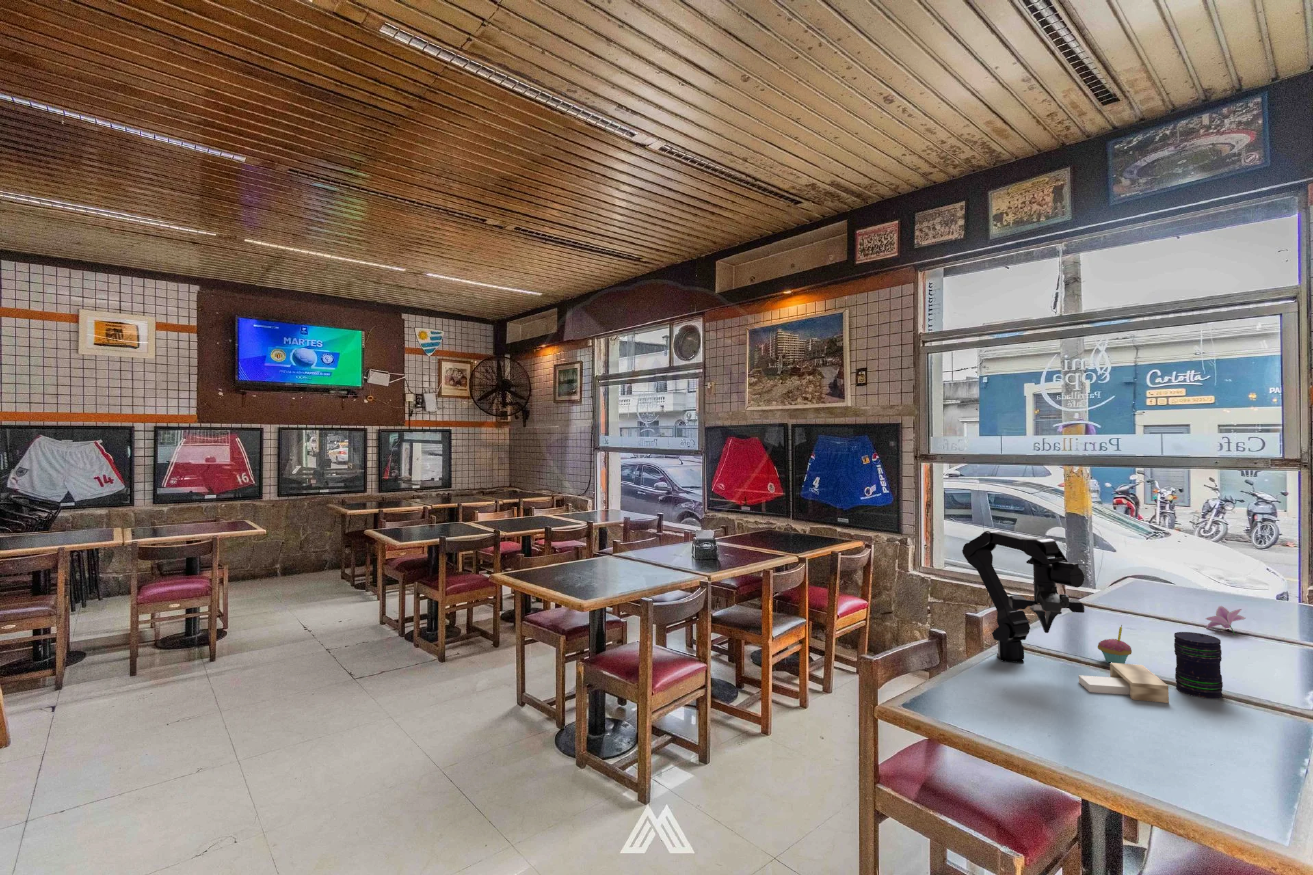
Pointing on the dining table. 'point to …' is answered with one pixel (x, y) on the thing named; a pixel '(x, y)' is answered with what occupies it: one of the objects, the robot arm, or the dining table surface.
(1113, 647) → the cupcake
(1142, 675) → the beige block
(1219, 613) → the lily
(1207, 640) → the black disc stack
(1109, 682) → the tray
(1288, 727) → the dining table surface
